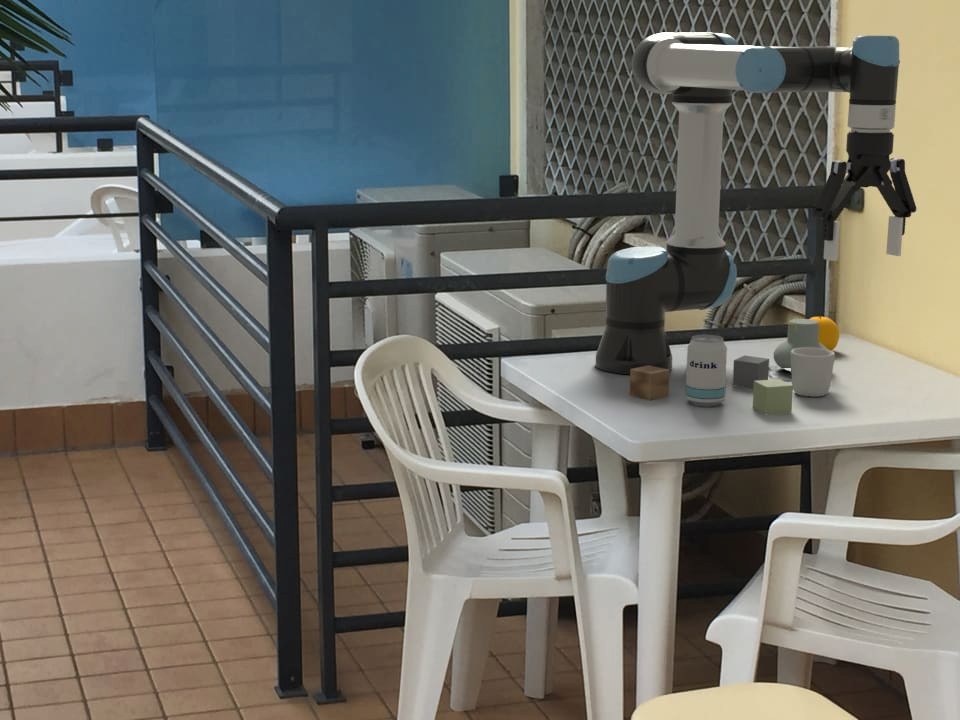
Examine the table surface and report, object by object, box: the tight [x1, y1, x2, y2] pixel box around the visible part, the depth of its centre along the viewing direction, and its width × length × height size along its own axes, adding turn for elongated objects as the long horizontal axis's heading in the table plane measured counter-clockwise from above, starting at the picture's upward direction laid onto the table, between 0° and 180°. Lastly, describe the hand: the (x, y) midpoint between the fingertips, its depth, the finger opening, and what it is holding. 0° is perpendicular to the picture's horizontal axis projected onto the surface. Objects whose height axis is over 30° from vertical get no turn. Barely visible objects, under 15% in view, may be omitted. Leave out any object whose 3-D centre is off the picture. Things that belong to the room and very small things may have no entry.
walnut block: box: [629, 365, 671, 401], centre depth 269 cm, size 5×5×5 cm
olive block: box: [752, 378, 794, 415], centre depth 259 cm, size 5×5×5 cm
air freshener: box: [772, 318, 828, 369], centre depth 288 cm, size 11×8×10 cm
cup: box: [790, 347, 836, 398], centre depth 271 cm, size 11×8×8 cm
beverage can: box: [685, 334, 728, 408], centre depth 263 cm, size 7×7×12 cm
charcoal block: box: [732, 354, 770, 390], centre depth 277 cm, size 5×5×5 cm
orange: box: [809, 315, 840, 351], centre depth 306 cm, size 8×8×8 cm
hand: (862, 257), depth 249 cm, fingers open, 13 cm apart
